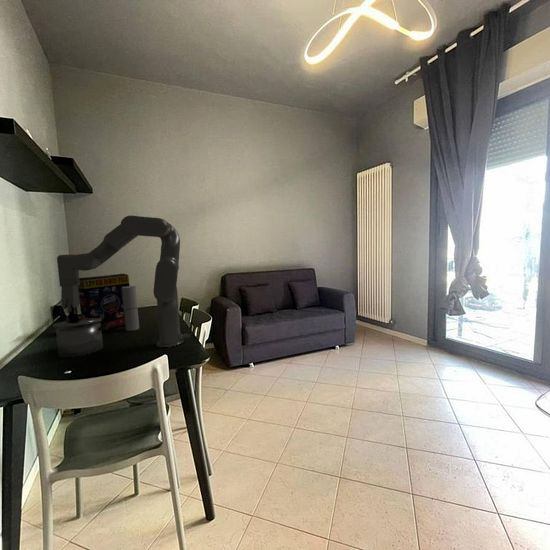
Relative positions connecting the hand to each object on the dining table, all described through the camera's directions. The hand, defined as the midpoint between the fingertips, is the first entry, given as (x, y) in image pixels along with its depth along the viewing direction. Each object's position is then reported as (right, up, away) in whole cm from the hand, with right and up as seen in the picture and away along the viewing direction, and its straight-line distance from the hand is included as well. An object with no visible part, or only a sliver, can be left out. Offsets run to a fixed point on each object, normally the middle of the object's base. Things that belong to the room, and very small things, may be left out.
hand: (73, 322), depth 139 cm
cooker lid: (-2, -1, +6) cm, 6 cm away
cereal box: (-10, -11, +48) cm, 51 cm away
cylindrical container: (+7, -11, +42) cm, 44 cm away
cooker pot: (-1, -14, +7) cm, 16 cm away
